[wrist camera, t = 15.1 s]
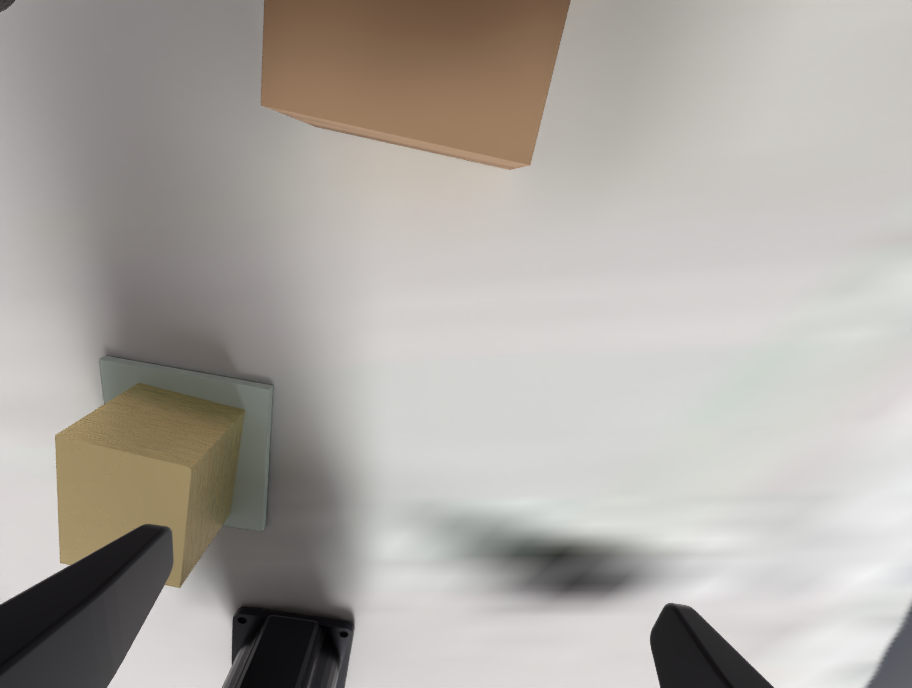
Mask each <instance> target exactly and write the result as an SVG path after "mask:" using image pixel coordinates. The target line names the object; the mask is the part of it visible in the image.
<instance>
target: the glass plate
mask: <svg viewBox="0 0 912 688" xmlns="http://www.w3.org/2000/svg"><path fill="white" fill-rule="evenodd" d="M99 362H100V372H101V381H102V390H103V400H104V404H106V403H107V402H109V401H110V400H112V399H113V398H115V397H117V396H118V395H120V394H121V393H123V392H125V391H126V390H128V389H129V388H131V387H132V386H134V385H136V384H137V383H142V384H146V385H150V386H154V387H158V388H161V389H165V390H169V391H173V392H177V393H181V394H185V395H189V396H193V397H197V398H201V399H205V400H209V401H212V402H216V403H220V404H224V405H228V406H232V407H236V408H240V409H244V410H245V416H244V423H243V429H242V436H241V443H240V450H239V457H238V464H237V471H236V478H235V485H234V492H233V499H232V505H231V512H230V515H229V517H228V518H227V519H226V521H225V522H224V524H223V525H222V526H228V527H234V528H241V529H247V530H254V531H260V532H262V531H263V529H264V528H265V526H266V509H267V491H268V472H269V454H270V435H271V417H272V398H273V385H268V384H263V383H257V382H251V381H246V380H240V379H235V378H229V377H223V376H218V375H212V374H206V373H201V372H195V371H189V370H184V369H178V368H173V367H167V366H161V365H156V364H150V363H144V362H139V361H133V360H127V359H122V358H116V357H111V356H105V357H103V358H101V359H99Z"/></svg>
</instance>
